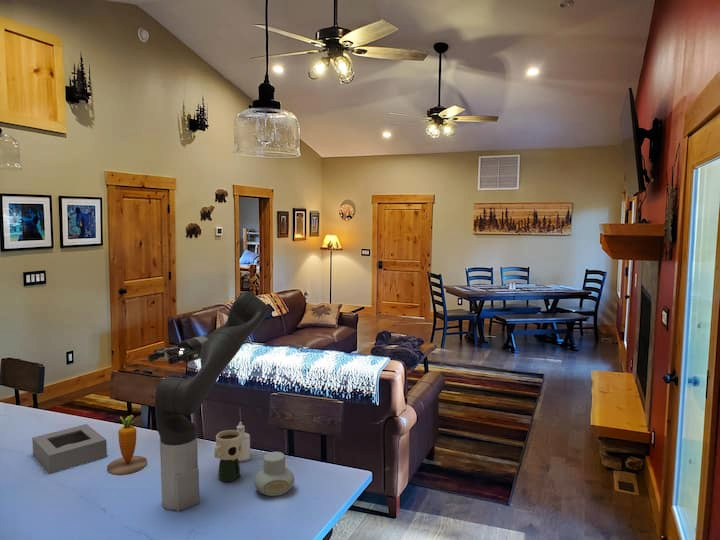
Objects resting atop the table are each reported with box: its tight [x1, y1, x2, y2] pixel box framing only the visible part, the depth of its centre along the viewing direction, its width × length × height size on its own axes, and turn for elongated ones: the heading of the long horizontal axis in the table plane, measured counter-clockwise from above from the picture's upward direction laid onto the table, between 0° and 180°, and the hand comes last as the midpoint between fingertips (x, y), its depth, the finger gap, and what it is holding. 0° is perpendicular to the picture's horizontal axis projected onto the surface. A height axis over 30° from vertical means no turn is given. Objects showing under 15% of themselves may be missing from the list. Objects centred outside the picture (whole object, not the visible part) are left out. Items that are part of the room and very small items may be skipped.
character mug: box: [214, 429, 243, 482], centre depth 151 cm, size 11×7×13 cm, turn 150°
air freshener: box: [253, 451, 295, 497], centre depth 144 cm, size 11×8×10 cm
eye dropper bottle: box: [236, 421, 251, 463], centre depth 163 cm, size 4×6×12 cm
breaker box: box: [31, 423, 108, 475], centre depth 165 cm, size 18×16×6 cm
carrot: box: [117, 414, 137, 464], centre depth 158 cm, size 5×5×15 cm
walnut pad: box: [107, 455, 148, 476], centre depth 158 cm, size 11×11×1 cm
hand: (159, 359), depth 167 cm, fingers open, 8 cm apart
